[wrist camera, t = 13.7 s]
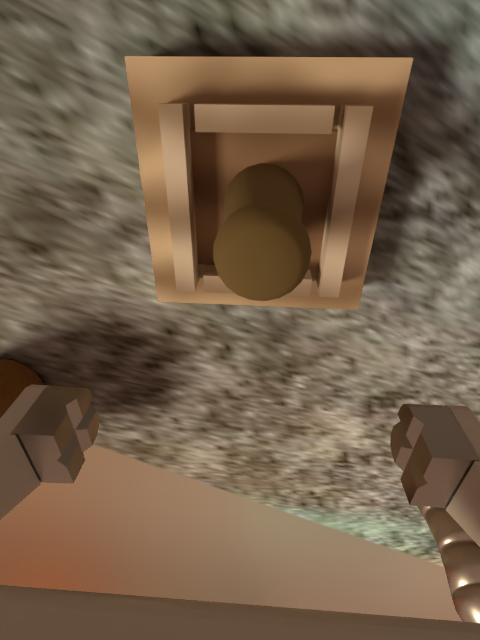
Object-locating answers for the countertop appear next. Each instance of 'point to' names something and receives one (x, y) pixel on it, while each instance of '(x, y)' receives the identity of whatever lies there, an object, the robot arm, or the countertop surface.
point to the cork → (262, 234)
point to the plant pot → (14, 382)
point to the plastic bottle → (457, 561)
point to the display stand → (264, 160)
